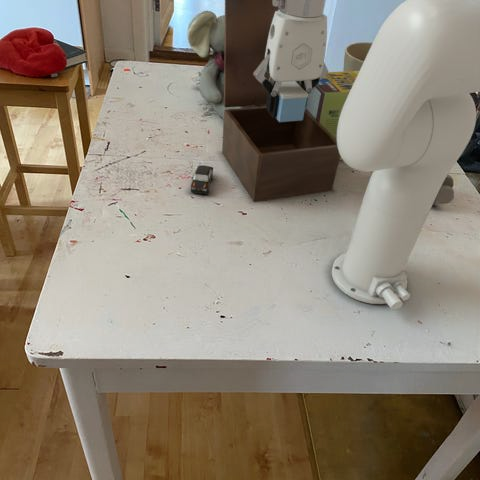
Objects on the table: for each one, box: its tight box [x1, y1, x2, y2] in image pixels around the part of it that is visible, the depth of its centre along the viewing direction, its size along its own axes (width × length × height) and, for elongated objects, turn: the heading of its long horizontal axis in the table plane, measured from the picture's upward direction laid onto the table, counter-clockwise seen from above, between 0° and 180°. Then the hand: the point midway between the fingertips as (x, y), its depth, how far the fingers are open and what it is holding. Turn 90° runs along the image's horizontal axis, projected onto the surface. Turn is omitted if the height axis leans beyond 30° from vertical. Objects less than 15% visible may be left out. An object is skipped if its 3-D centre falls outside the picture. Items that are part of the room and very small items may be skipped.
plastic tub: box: [275, 81, 308, 122], centre depth 90 cm, size 6×5×5 cm
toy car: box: [190, 129, 214, 195], centre depth 94 cm, size 4×12×8 cm, turn 172°
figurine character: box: [431, 174, 455, 208], centre depth 96 cm, size 7×8×15 cm
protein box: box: [305, 71, 359, 162], centre depth 105 cm, size 10×15×16 cm
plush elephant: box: [186, 10, 267, 120], centre depth 116 cm, size 27×22×21 cm
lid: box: [224, 0, 300, 107], centre depth 95 cm, size 20×18×5 cm
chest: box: [221, 106, 340, 203], centre depth 98 cm, size 20×18×10 cm
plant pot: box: [342, 41, 373, 72], centre depth 117 cm, size 15×15×16 cm
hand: (285, 112), depth 92 cm, fingers closed on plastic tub, 5 cm apart
